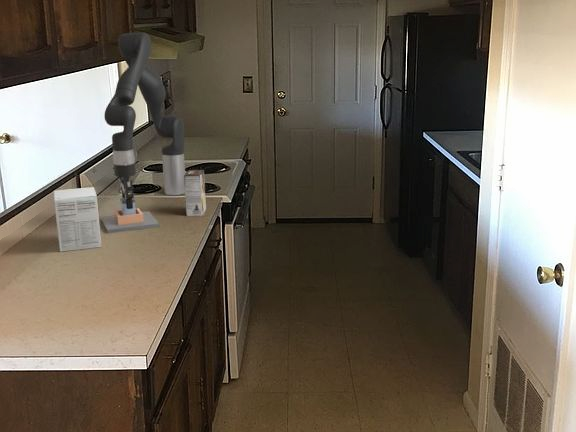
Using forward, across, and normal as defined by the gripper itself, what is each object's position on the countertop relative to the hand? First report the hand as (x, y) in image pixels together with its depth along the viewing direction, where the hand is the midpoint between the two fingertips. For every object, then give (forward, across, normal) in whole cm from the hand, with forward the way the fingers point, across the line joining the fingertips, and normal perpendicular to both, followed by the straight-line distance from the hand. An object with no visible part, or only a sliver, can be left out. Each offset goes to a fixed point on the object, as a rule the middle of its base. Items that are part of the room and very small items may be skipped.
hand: (127, 205), depth 235 cm
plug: (+5, 0, 0) cm, 5 cm away
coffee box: (+7, -3, +26) cm, 27 cm away
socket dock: (+7, 0, 0) cm, 7 cm away
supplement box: (+7, +17, -19) cm, 26 cm away
